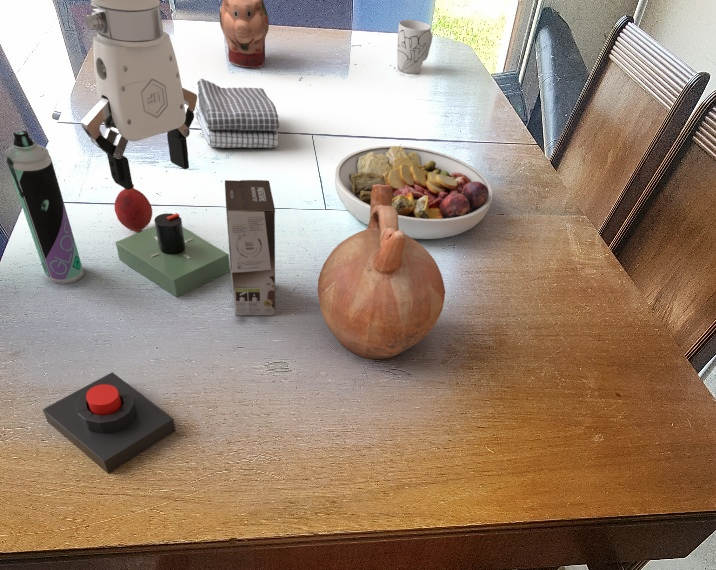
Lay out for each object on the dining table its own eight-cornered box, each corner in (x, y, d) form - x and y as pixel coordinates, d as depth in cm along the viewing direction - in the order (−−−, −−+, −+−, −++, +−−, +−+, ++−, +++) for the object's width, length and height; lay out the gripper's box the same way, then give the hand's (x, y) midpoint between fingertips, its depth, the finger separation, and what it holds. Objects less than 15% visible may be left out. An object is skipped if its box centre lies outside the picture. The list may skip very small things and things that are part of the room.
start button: (83, 405, 72) (79, 394, 71) (109, 391, 74) (105, 379, 72) (102, 420, 71) (98, 409, 69) (127, 405, 73) (124, 394, 71)
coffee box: (276, 316, 92) (275, 211, 79) (234, 316, 91) (226, 210, 78) (272, 282, 98) (270, 178, 85) (231, 282, 96) (223, 177, 84)
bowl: (308, 218, 111) (309, 173, 105) (366, 158, 129) (370, 117, 123) (462, 264, 107) (473, 221, 100) (500, 196, 124) (512, 155, 118)
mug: (415, 61, 171) (422, 17, 163) (437, 71, 167) (445, 26, 160) (387, 67, 165) (392, 21, 158) (408, 77, 162) (415, 31, 154)
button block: (47, 422, 74) (37, 398, 71) (116, 384, 80) (109, 360, 77) (108, 474, 71) (100, 450, 67) (176, 431, 76) (171, 407, 73)
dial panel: (119, 259, 97) (114, 241, 95) (173, 236, 103) (170, 218, 100) (176, 297, 93) (173, 278, 90) (230, 271, 98) (228, 253, 96)
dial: (170, 257, 94) (166, 227, 90) (153, 247, 95) (148, 217, 91) (190, 248, 96) (186, 218, 92) (173, 238, 97) (169, 208, 93)
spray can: (69, 287, 91) (24, 145, 76) (38, 277, 92) (-13, 134, 76) (91, 270, 95) (52, 129, 79) (61, 260, 95) (16, 119, 80)
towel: (209, 153, 123) (205, 110, 117) (195, 117, 133) (191, 75, 127) (282, 151, 127) (281, 109, 121) (263, 115, 137) (262, 75, 131)
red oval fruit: (143, 244, 101) (134, 195, 94) (113, 235, 101) (101, 186, 95) (161, 228, 104) (153, 180, 98) (131, 220, 105) (122, 171, 99)
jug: (443, 377, 87) (478, 245, 71) (318, 374, 85) (326, 237, 69) (424, 302, 98) (451, 174, 83) (313, 297, 96) (319, 165, 80)
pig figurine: (220, 46, 163) (216, -21, 152) (266, 48, 165) (264, -18, 154) (224, 73, 151) (219, 2, 140) (273, 75, 153) (272, 6, 142)
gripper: (84, 43, 64) (118, 205, 78) (207, 19, 73) (218, 168, 87) (41, 23, 66) (81, 183, 80) (165, 2, 76) (182, 149, 89)
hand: (152, 175), depth 83 cm, fingers open, 9 cm apart
